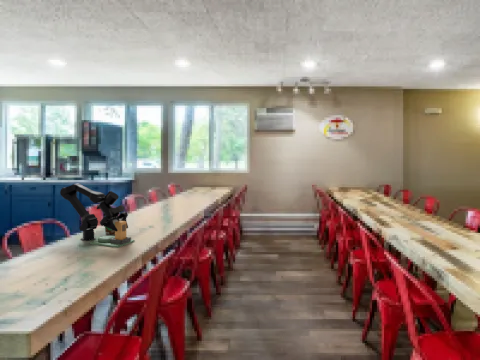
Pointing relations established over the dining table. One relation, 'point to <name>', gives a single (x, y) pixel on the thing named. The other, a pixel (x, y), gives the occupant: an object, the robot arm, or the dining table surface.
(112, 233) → the food container
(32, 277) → the dining table surface
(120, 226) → the chute block
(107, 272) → the dining table surface
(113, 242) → the green domed base plate
